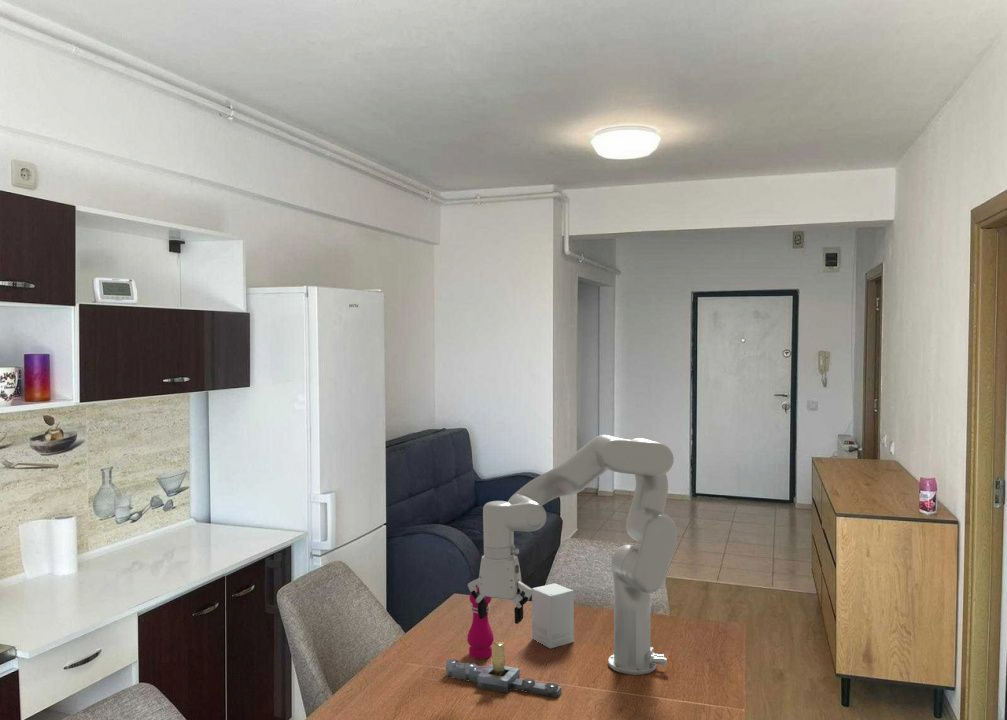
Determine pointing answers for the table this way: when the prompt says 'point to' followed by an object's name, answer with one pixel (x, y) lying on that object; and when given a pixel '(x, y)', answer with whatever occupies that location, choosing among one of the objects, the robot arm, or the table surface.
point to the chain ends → (499, 678)
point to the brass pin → (499, 659)
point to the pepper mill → (480, 632)
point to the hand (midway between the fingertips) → (500, 619)
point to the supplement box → (553, 615)
